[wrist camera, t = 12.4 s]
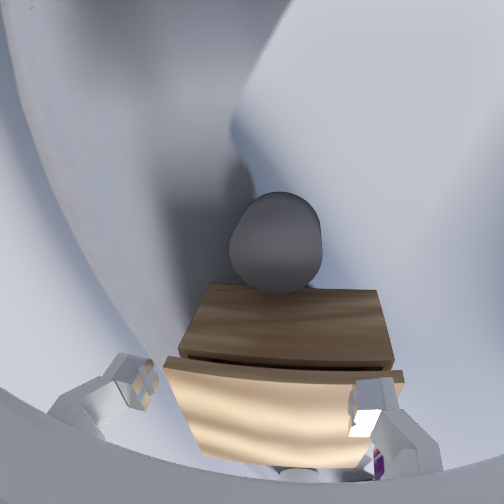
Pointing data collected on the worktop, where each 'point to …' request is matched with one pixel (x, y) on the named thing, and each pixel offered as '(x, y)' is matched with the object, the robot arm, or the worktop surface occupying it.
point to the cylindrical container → (299, 475)
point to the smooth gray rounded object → (277, 243)
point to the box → (290, 329)
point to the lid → (270, 412)
